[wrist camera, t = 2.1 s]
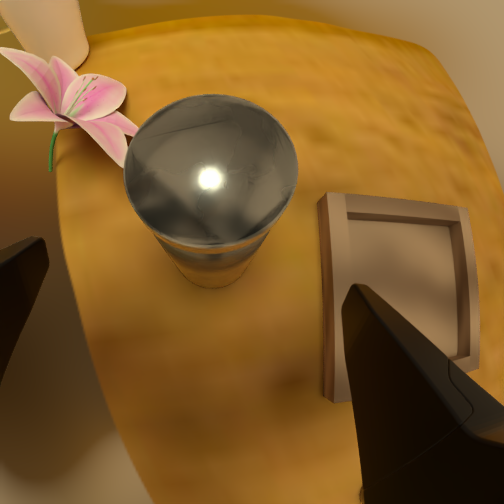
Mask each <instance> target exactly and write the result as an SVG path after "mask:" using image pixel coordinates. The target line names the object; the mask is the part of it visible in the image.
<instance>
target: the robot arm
mask: <svg viewBox="0 0 504 504" xmlns="http://www.w3.org/2000/svg"><path fill="white" fill-rule="evenodd" d="M48 268H49V257H48V253H47V248H46V243H45V240H44V239H43V238H42V237H36V236H31V237H29V238H26V239H24V240H22V241H19V242H17V243H15V244H12V245H11V246H8V247H6V248H3V249H1V250H0V385H1V382H2V379H3V376H4V374H5V371H6V368H7V366H8V363H9V361H10V358H11V356H12V353H13V351H14V348H15V346H16V343H17V341H18V339H19V336H20V334H21V332H22V330H23V328H24V325H25V323H26V321H27V319H28V317H29V315H30V312H31V310H32V308H33V305H34V303H35V300H36V298H37V295H38V293H39V290H40V287H41V285H42V283H43V280H44V278H45V276H46V273H47V271H48ZM341 318H342V329H343V343H344V355H345V363H346V369H347V374H348V380H349V386H350V392H351V398H352V405H353V411H354V418H355V425H356V432H357V440H358V448H359V456H360V464H361V474H362V483H363V489H364V490H363V496H364V504H504V406H503V405H502V404H501V403H499V402H498V401H497V400H496V399H495V398H494V397H492V396H491V395H490V394H489V393H488V392H486V391H485V390H484V389H483V388H482V387H481V386H479V385H478V384H477V383H476V382H475V381H474V380H472V379H471V378H470V377H469V376H468V375H467V374H466V373H465V372H464V371H462V370H461V369H460V368H459V367H458V366H457V365H456V364H455V363H454V362H453V361H452V360H451V359H448V357H447V356H446V355H445V354H444V353H443V352H442V351H441V350H440V349H439V348H438V347H437V346H436V345H434V344H433V343H432V342H431V341H430V340H429V339H428V338H427V337H426V336H425V335H423V334H422V333H421V332H420V331H419V330H418V329H417V328H416V327H415V326H413V325H412V324H411V323H410V322H409V321H408V320H407V319H406V318H404V317H403V316H402V315H401V314H400V313H399V312H398V311H397V310H395V309H394V308H393V307H392V306H391V305H390V304H388V303H387V302H386V301H385V300H384V299H383V298H382V297H380V296H379V295H378V294H377V293H376V292H375V291H373V290H372V289H371V288H370V287H369V286H368V285H366V284H359V283H354V284H352V285H351V287H350V288H349V291H348V293H347V295H346V297H345V300H344V302H343V304H342V308H341Z"/></svg>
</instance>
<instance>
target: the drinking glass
mask: <svg viewBox="0 0 504 504" xmlns="http://www.w3.org/2000/svg"><path fill="white" fill-rule="evenodd" d="M0 15H1V16H2V18H3V19H4V21H5V22H6V24H7V25H8V27H9V28H10V30H11V31H12V32H13V34H14V35H15V37H16V38H17V40H18V41H19V43H20V44H21V45H22V47H23V48H24V50H25V51H26V52H27V53H31V54H34V55H36V56H38V57H40V58H42V59H44V60H45V61H46V62H47V63H48V64H49V62H50V59H51V57H52V56H56V57H58V58H60V59H61V60H63V61H64V62H65V63H66V64H68V65H69V66H70V67H71V68H72V69H73V70H75V69H76V68H77V67H79V66H80V65H81V64H82V63H83V61H84V60H85V59H86V57H87V55H88V53H89V44H88V41H87V38H86V35H85V32H84V27H83V23H82V18H81V14H80V9H79V3H78V0H0Z"/></svg>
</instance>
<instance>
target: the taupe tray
mask: <svg viewBox="0 0 504 504" xmlns="http://www.w3.org/2000/svg"><path fill="white" fill-rule="evenodd" d="M317 207H318V219H319V234H320V249H321V268H322V292H323V331H324V384H323V396H324V397H325V398H327V399H328V400H330V401H331V402H333V403H339V402H345V401H352V398H351V392H350V386H349V380H348V374H347V369H346V363H345V355H344V343H343V329H342V318H341V308H342V304H343V302H344V300H345V297H346V295H347V293H348V291H349V288H350V287H351V285H352V284H354V283H359V284H366V285H368V286H369V287H370V288H371V289H372V290H373V291H375V292H376V293H377V294H378V295H379V296H380V297H382V298H383V299H384V300H385V301H386V302H387V303H388V304H390V305H391V306H392V307H393V308H394V309H395V310H397V311H398V312H399V313H400V314H401V315H402V316H403V317H404V318H406V319H407V320H408V321H409V322H410V323H411V324H412V325H413V326H415V327H416V328H417V329H418V330H419V331H420V332H421V333H422V334H423V335H425V336H426V337H427V338H428V339H429V340H430V341H431V342H432V343H433V344H434V345H436V346H437V347H438V348H439V349H440V350H441V351H442V352H443V353H444V354H445V355H446V356H447V357H448V359H451V360H452V361H453V362H454V363H455V364H456V365H457V366H458V367H459V368H460V369H461V370H462V371H464V372H465V373H467V372H470V371H473V370H476V369H479V355H480V310H479V291H478V278H477V268H476V259H475V251H474V244H473V237H472V231H471V225H470V219H469V214H468V209H467V208H464V207H458V206H451V205H444V204H437V203H429V202H421V201H413V200H405V199H396V198H387V197H378V196H367V195H357V194H345V193H333V192H326V193H325V195H324V196H323V197H322V198H321V199H320V200H319V201H318V203H317Z"/></svg>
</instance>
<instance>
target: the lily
mask: <svg viewBox="0 0 504 504" xmlns="http://www.w3.org/2000/svg"><path fill="white" fill-rule="evenodd" d="M0 53H1V54H2V55H3V56H5V57H7V59H9V60H10V61H11V62H13V63H14V64H15V65H16V66H17V67H19V68H20V69H21V70H22V71H23V72H24V73H25V75H26V76H27V77H28V78H29V79H30V80H31V81H32V83H33V84H34V85H35V87H36V88H37V89H38V91H39V92H40V93H41V94H40V93H39V92H37V91H32V92H30V93H29V94H27V95H26V96H25V97H24V98H23V99H22V100H20V102H19V103H18V104H17V105H16V106H15V108H14V109H13V111H12V112H11V114H10V120H13V121H54V123H55V130H54V133H53V136H52V140H51V145H50V152H49V172H52V161H53V148H54V144H55V140H56V137H57V135H58V132H59V130H60V129H70V128H83V129H84V130H85V131H87V133H88V134H89V135H90V136H91V137H92V138H93V139H94V140H95V141H96V142H97V143H98V144H99V145H100V146H101V147H102V148H103V150H104V151H105V152H106V153H107V154H108V155H109V156H110V157H111V158H112V159H113V160H114V161H115V162H116V163H117V164H118V165H119V166H120V167H122V168H124V161H125V156H126V152H127V150H128V146H127V142H126V138H125V135H124V134H127V135H130V136H133V137H134V135H135V133H136V132H137V131H138V129H139V128H138V127H137V126H136V125H135V124H134V123H132V122H131V121H130V120H129V119H128V118H126V117H125V116H124V115H122V114H121V113H119V112H118V111H116V109H117V108H118V107H119V106H120V105H121V104H122V102H123V100H124V98H125V96H126V87H125V86H124V85H123V84H122V83H120V82H118V81H116V80H114V79H112V78H109V77H106V76H103V75H99V74H84V75H81V76H78V75H77V73H76V72H75V71H74V70H73V69H72V68H71V67H70V66H69V65H68V64H66V63H65V62H64V61H63V60H61V59H60V58H58V57H56V56H52V57H51V59H50V62H49V64H48V63H47V62H46V61H45V60H44V59H42V58H40V57H38V56H36V55H34V54H31V53H27V52H24V51H21V50H16V49H11V48H3V47H0ZM43 97H44V98H43ZM44 99H45V100H46V102H47V103H48V105H49V106H50V108H51V110H50V109H49V108H48V106H47V104H46V102H45V100H44ZM51 111H52V112H51Z"/></svg>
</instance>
